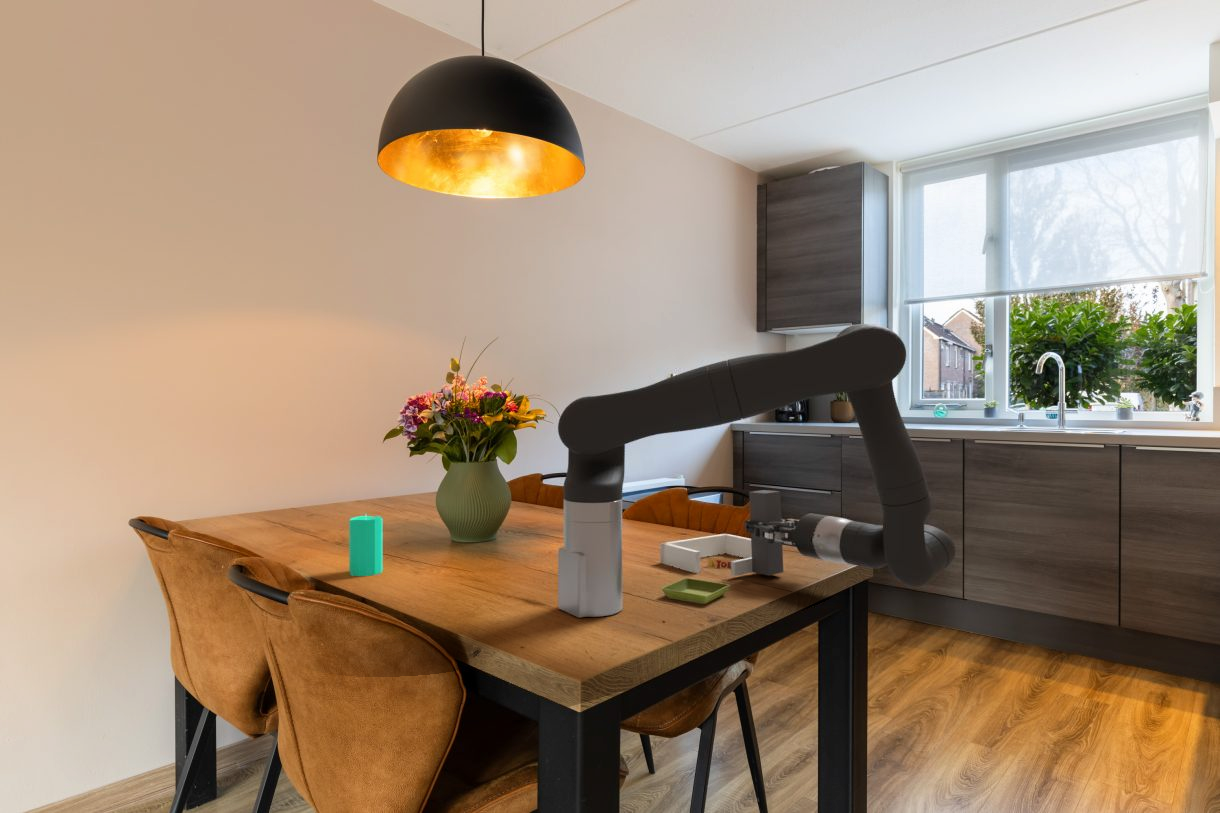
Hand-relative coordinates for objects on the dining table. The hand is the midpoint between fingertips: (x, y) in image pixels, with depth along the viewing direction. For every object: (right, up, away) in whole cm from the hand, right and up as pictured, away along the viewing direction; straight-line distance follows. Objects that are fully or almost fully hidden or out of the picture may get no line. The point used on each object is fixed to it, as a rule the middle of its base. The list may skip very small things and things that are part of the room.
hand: (754, 524), depth 131 cm
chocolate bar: (-2, -10, +4) cm, 11 cm away
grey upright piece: (+2, -8, -2) cm, 9 cm away
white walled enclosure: (-7, -9, +9) cm, 15 cm away
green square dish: (-13, -10, -16) cm, 23 cm away
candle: (-74, -9, +1) cm, 75 cm away
